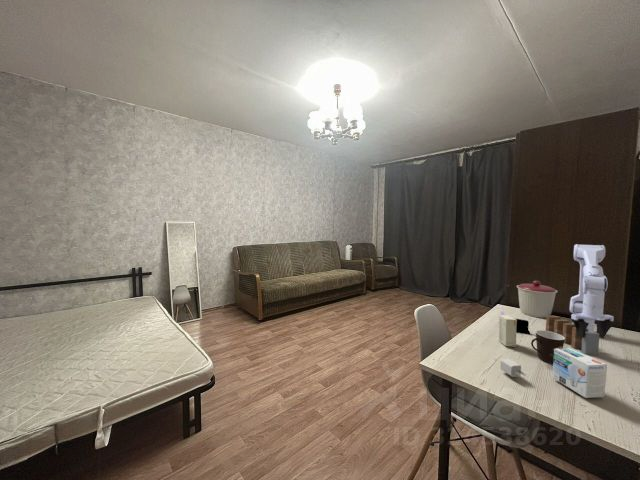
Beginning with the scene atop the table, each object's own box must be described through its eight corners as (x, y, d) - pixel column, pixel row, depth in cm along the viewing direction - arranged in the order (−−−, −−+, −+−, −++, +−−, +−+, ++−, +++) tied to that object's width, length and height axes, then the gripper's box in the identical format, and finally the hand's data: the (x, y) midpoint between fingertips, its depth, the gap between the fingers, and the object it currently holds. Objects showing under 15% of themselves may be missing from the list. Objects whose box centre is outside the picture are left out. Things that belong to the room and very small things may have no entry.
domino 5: (598, 354, 102) (599, 333, 101) (585, 354, 102) (586, 333, 101) (593, 352, 103) (595, 332, 103) (581, 352, 103) (582, 331, 103)
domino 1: (545, 333, 121) (546, 315, 121) (556, 334, 121) (557, 316, 120) (548, 335, 120) (549, 317, 119) (559, 335, 119) (560, 317, 119)
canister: (553, 324, 133) (556, 286, 132) (512, 315, 147) (513, 280, 145) (557, 316, 145) (559, 281, 143) (518, 308, 158) (520, 276, 157)
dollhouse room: (501, 330, 126) (501, 317, 125) (498, 322, 136) (498, 310, 136) (531, 335, 120) (532, 322, 119) (526, 327, 130) (526, 314, 130)
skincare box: (516, 347, 108) (517, 320, 107) (505, 346, 109) (506, 319, 108) (508, 340, 114) (509, 315, 113) (497, 339, 115) (499, 314, 114)
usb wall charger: (509, 368, 92) (510, 358, 91) (527, 380, 85) (528, 369, 85) (500, 369, 91) (500, 359, 91) (517, 381, 84) (518, 370, 84)
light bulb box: (551, 377, 87) (553, 347, 86) (568, 376, 87) (570, 347, 86) (586, 398, 76) (588, 365, 75) (605, 397, 77) (608, 364, 76)
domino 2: (553, 337, 117) (554, 319, 116) (564, 338, 116) (565, 319, 116) (556, 339, 115) (557, 320, 115) (567, 339, 115) (569, 321, 114)
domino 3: (562, 342, 112) (563, 323, 112) (573, 342, 112) (575, 323, 111) (565, 344, 111) (566, 324, 110) (577, 344, 110) (578, 325, 110)
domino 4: (571, 347, 108) (572, 327, 107) (583, 347, 108) (584, 327, 107) (574, 348, 106) (576, 328, 106) (587, 349, 106) (588, 329, 105)
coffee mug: (555, 355, 101) (557, 331, 100) (568, 366, 93) (570, 341, 92) (521, 350, 105) (522, 328, 104) (531, 361, 97) (532, 336, 96)
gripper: (583, 307, 98) (581, 340, 99) (623, 308, 97) (620, 341, 98) (567, 302, 105) (565, 333, 106) (604, 303, 104) (601, 334, 105)
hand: (590, 336), depth 102 cm, fingers open, 7 cm apart
